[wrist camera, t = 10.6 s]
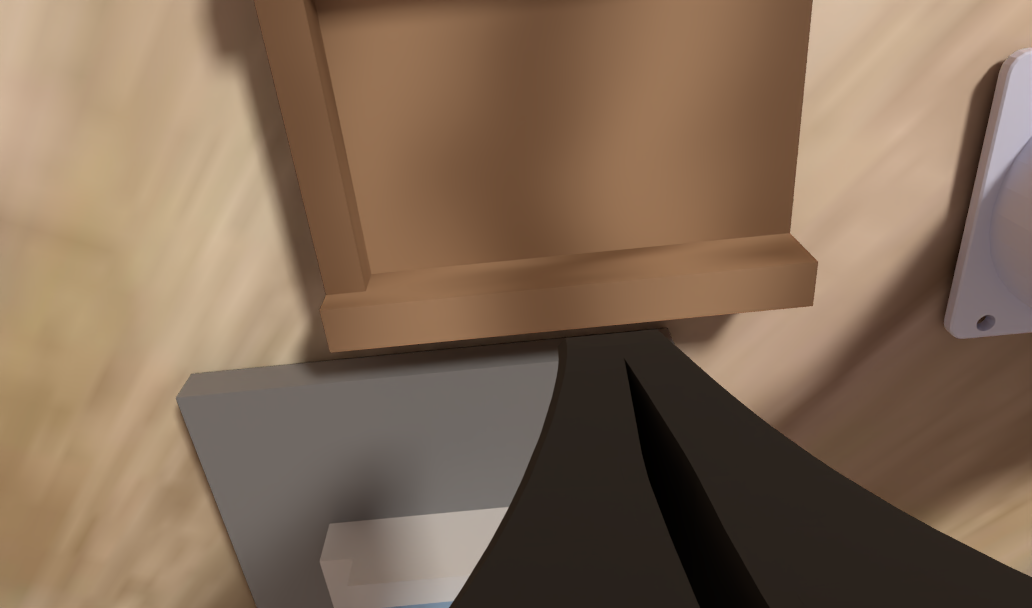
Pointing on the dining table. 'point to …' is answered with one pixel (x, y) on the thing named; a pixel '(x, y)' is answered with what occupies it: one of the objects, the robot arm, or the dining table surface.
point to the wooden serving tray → (542, 161)
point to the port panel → (369, 467)
